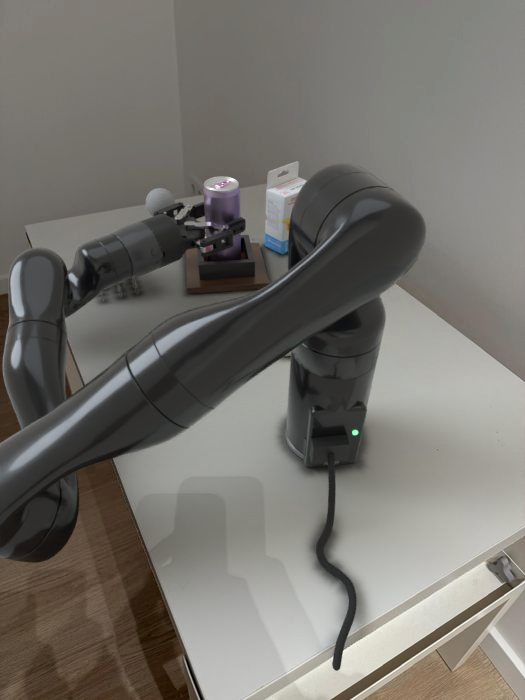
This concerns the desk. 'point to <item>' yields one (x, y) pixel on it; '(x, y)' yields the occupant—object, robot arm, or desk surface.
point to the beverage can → (223, 212)
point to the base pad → (226, 271)
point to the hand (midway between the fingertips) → (227, 214)
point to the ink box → (281, 205)
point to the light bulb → (158, 200)
